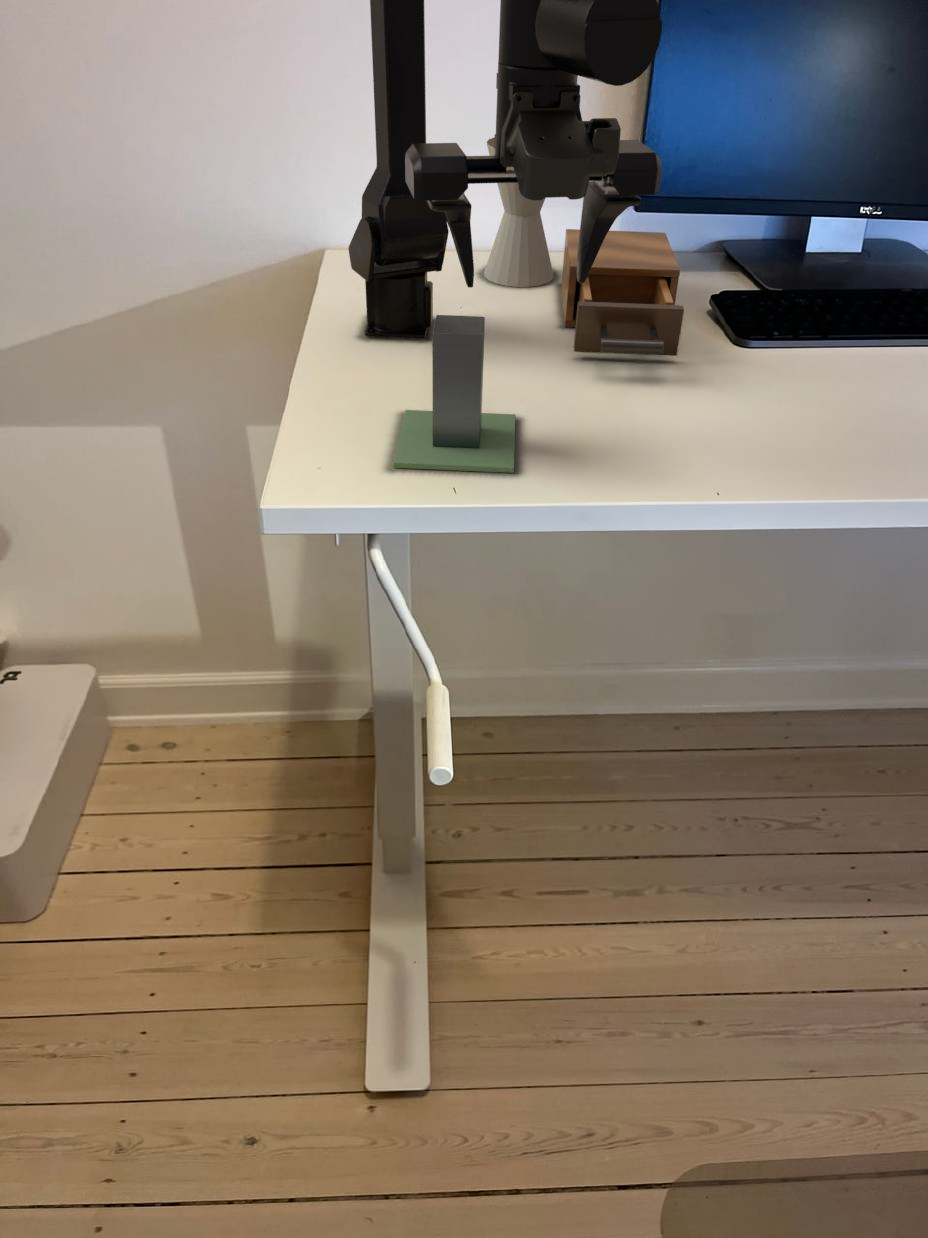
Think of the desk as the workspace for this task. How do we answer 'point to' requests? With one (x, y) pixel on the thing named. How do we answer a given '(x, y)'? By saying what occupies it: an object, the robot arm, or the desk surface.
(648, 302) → the drawer
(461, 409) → the tall grey pillar
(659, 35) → the robot arm
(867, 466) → the desk surface
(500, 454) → the mat
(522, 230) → the lava lamp
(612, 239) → the cabinet
